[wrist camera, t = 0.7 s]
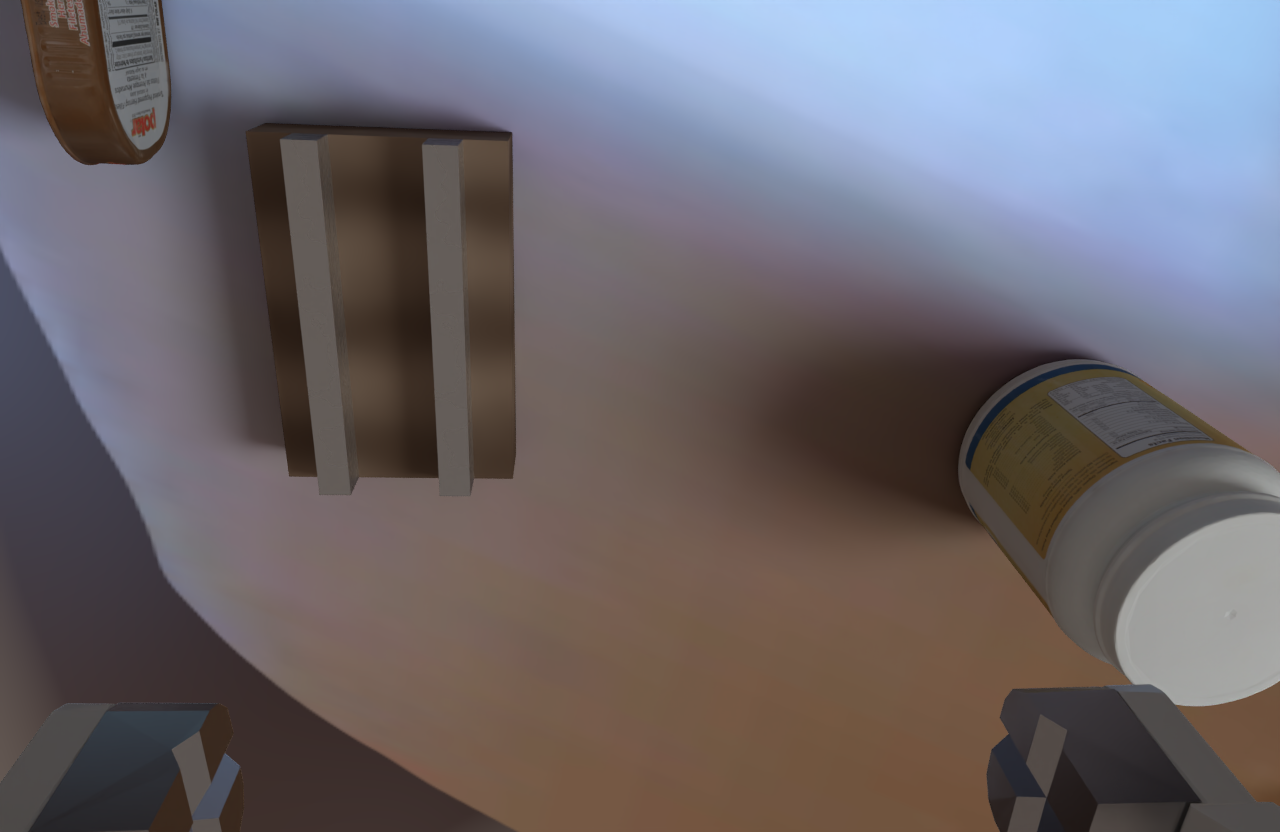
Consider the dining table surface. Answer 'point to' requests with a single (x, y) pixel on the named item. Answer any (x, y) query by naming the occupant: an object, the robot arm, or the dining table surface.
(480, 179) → the dock
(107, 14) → the tin
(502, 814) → the dining table surface
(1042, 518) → the supplement tub
